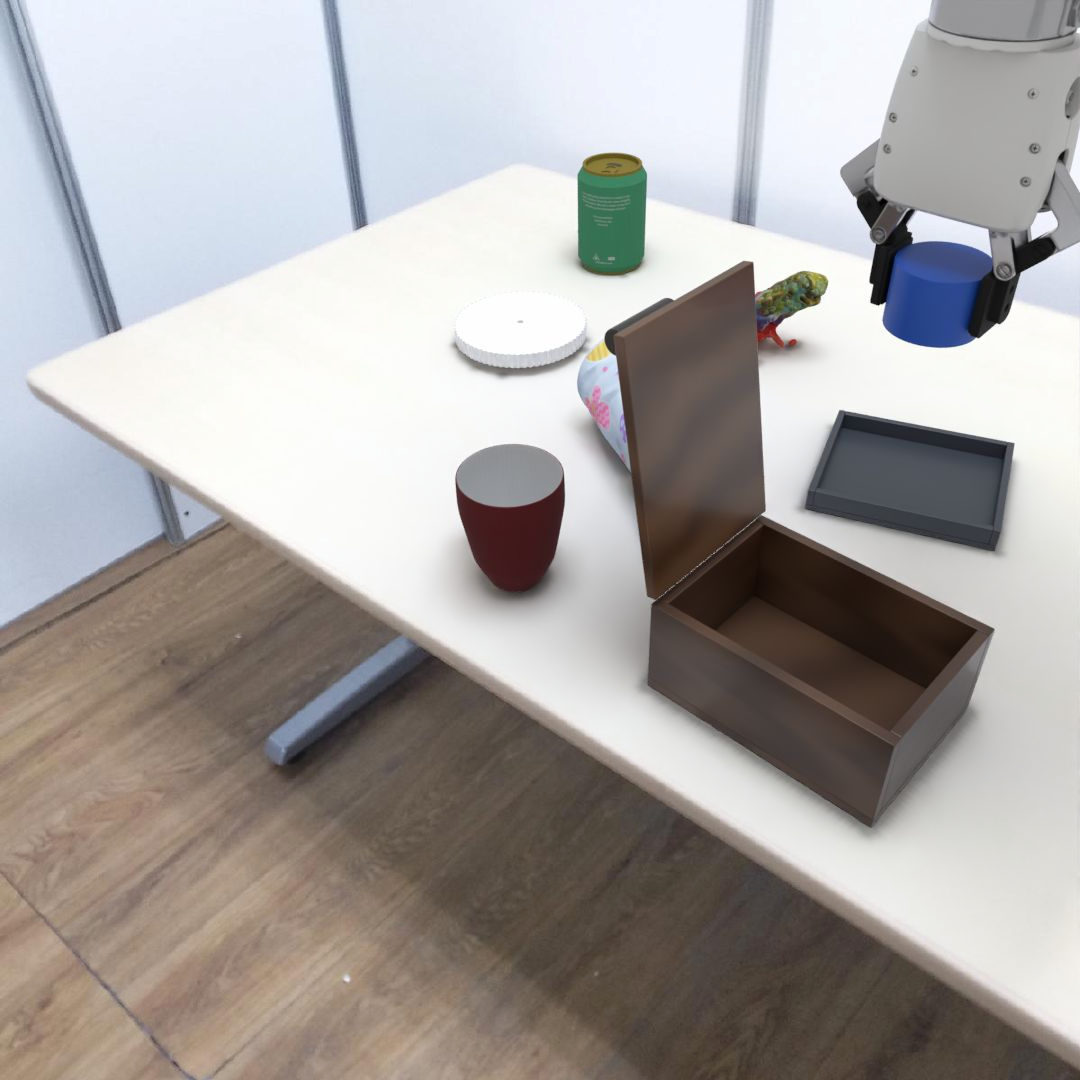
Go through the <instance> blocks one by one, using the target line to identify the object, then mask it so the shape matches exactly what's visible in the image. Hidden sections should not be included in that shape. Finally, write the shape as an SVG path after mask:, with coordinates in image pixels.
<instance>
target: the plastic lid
mask: <svg viewBox="0 0 1080 1080" xmlns="http://www.w3.org/2000/svg"><path fill="white" fill-rule="evenodd" d="M453 325H454V326H453V328H454V329H453V330H454V337H455V338H454V339H455V344H456V347H458V349H459V350H460V352H462V353H463V355H465V356H466V357H467V358H468V357H469V359H470V360H473V361H474V362H478V363H482V364H483V365H487V366H493V367H498V368H504V369H509V368H511V369H515V368H516V369H520V368H523V369H526V368H533V367H536V368H537V367H539V366H545V365H550V364H554V363H556V362H560V361H561V360H565V358H568V357H570V355H573V354H574V353H577V350H580V348H581V347H582V346H583V344H584V343H585V342H586V338H587V327H588V326H587V315H586V314H585V312H584V310H583V309H582V308H581V307H580V305H577V303H575V302H573V301H572V300H570V299H568V298H565V297H561V296H560V295H556V294H551V293H546V292H540V291H537V292H536V291H515V292H513V291H510V292H504V293H499V294H494V295H493V296H492V295H489V296H488V297H483V299H481V298H480V299H479V300H476V301H475V302H472V303H470V305H467V307H464V308H463V310H461V311H460V312H459V313H458V315H457V316H456V318H455V320H454V323H453Z"/></svg>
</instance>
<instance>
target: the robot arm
mask: <svg viewBox="0 0 1080 1080" xmlns="http://www.w3.org/2000/svg"><path fill="white" fill-rule="evenodd" d="M1079 28H1080V0H931V1H930V7H929V13H928V17H927V18H925V19H924V20H922V21H920V22H918V23H917V25H916V27H915V28H914V31H913V33H912V36H911V38H910V41H909V43H908V46H907V49H906V51H905V54H904V55H903V56H904V57H903V59H902V61H901V64H900V67H899V70H898V73H897V77H896V79H895V81H894V85H893V87H892V88H893V89H892V92H891V95H890V99H889V102H888V105H887V109H886V113H885V116H884V120H883V125H882V128H881V132H880V137H879V138H878V139H876V140H875V141H874V142H873V143H872V144H870V145H869V146H868V147H866V148H864V149H863V150H862V151H861V152H859V153H858V154H857V155H855V156H854V157H853V158H852V159H850V160H849V161H848V162H846V163H845V164H843V165H842V167H840V170H839V175H840V178H841V179H842V180H843V182H844V184H845V186H846V187H847V189H848V191H849V192H850V194H851V195H852V197H853V198H854V197H855V199H856V206H857V209H858V211H859V212H860V213H861V215H862V217H863V219H864V220H865V223H866V224H867V225H868V227H869V229H870V230H869V239H870V240H871V242H872V243H873V244H875V246H874V252H873V257H872V262H871V267H870V273H869V277H868V278H869V280H868V282H869V284H870V285H872V289H871V294H870V300H869V303H870V304H872V305H874V306H878V307H879V306H880V305H881V306H883V305H884V304H885V303H886V298H887V293H888V288H889V283H890V278H891V273H892V268H893V263H894V259H895V255H896V253H897V252H898V251H899V250H900V249H902V248H903V247H905V246H907V245H910V244H913V242H914V237H913V236H912V235H913V232H911V231H909V228H908V226H909V224H910V222H911V221H912V220H913V218H914V217H915V216H916V213H917V212H922V213H924V214H928V215H932V216H935V217H940V218H944V219H947V220H951V221H954V222H958V223H962V224H966V225H970V226H973V227H977V228H981V229H985V230H988V239H989V246H990V256H991V258H992V262H993V266H992V270H991V271H990V272H989V273H988V274H986V275H985V276H984V277H983V278H982V280H981V284H980V287H979V291H978V295H977V299H976V303H975V306H974V310H973V314H972V318H971V322H970V326H969V329H968V333H970V336H972V337H975V339H978V340H979V339H980V338H981V337H983V336H985V334H986V333H988V332H989V331H990V330H991V329H992V328H993V327H995V325H1001V324H1003V323H1004V322H1005V321H1006V319H1008V316H1009V314H1010V311H1011V309H1012V306H1013V301H1014V300H1015V299H1014V298H1015V295H1016V292H1017V288H1018V284H1019V282H1020V277H1021V273H1023V272H1025V271H1027V270H1029V269H1031V268H1032V267H1035V266H1036V265H1039V264H1040V263H1042V262H1044V261H1046V260H1047V259H1049V258H1050V257H1053V256H1054V255H1056V254H1058V253H1062V252H1063V251H1065V250H1067V249H1068V248H1069V249H1070V248H1071V247H1073V246H1075V245H1077V244H1079V243H1080V190H1079V189H1078V187H1077V185H1076V183H1075V181H1074V179H1073V178H1072V176H1071V174H1070V173H1071V169H1072V166H1073V161H1074V157H1075V153H1076V147H1077V143H1078V138H1079V133H1080V32H1078V29H1079ZM1048 212H1052V215H1054V217H1055V219H1056V222H1057V226H1056V227H1055V228H1053V229H1051V230H1049V231H1046V232H1044V233H1042V234H1040V235H1039V236H1038V237H1035V238H1034V239H1033V238H1032V237H1033V236H1032V229H1031V227H1032V225H1033V224H1034V222H1035V220H1036V217H1037V215H1038V214H1041V213H1048Z"/></svg>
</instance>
